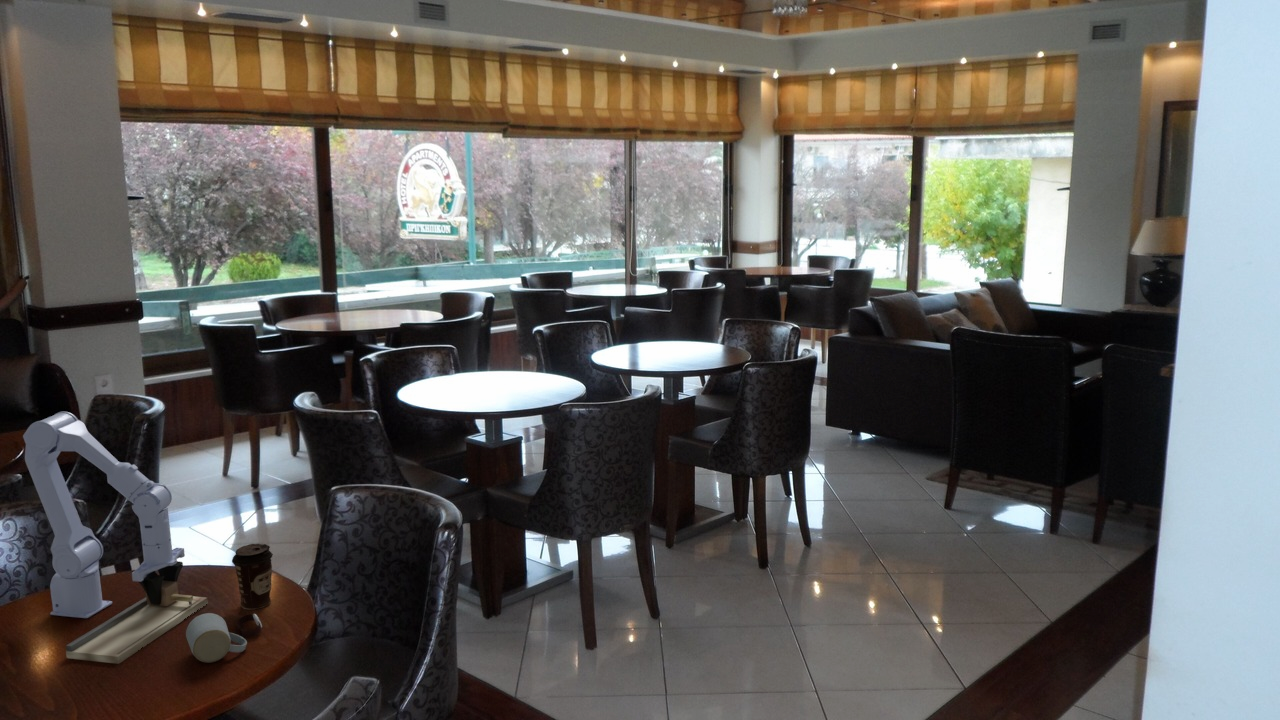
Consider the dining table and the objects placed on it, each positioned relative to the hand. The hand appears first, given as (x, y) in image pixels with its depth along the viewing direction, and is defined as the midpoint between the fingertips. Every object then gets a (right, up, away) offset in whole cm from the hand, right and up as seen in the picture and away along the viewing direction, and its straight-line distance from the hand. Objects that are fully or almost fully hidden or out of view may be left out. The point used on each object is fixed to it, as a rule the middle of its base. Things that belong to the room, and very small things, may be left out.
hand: (162, 599), depth 222 cm
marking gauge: (+2, -1, 0) cm, 2 cm away
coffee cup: (+20, -2, +3) cm, 20 cm away
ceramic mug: (+20, -6, -20) cm, 29 cm away
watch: (+23, -5, -10) cm, 25 cm away
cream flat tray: (0, -4, -9) cm, 10 cm away
